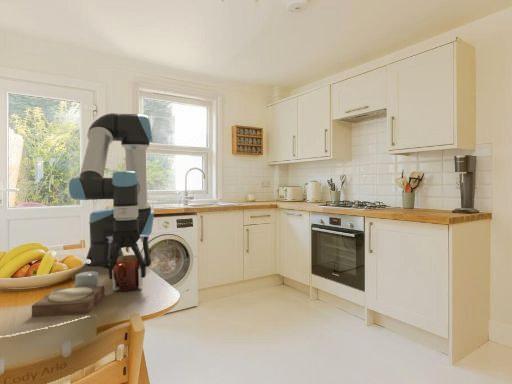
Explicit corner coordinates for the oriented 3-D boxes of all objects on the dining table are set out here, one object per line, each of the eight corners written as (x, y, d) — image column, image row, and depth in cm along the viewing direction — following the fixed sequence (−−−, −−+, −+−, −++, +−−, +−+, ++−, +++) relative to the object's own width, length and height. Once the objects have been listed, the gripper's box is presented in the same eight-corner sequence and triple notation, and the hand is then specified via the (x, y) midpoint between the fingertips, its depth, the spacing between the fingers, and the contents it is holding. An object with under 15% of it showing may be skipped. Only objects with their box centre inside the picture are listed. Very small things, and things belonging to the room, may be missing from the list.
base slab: (56, 297, 101) (56, 286, 100) (104, 295, 102) (104, 284, 102) (32, 316, 87) (31, 304, 87) (87, 313, 89) (87, 301, 88)
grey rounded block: (80, 283, 115) (80, 271, 115) (101, 282, 116) (101, 271, 116) (72, 289, 108) (71, 277, 108) (94, 288, 109) (94, 276, 109)
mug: (125, 283, 114) (124, 254, 113) (148, 285, 112) (147, 255, 112) (102, 295, 102) (101, 263, 102) (127, 297, 100) (127, 264, 100)
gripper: (88, 221, 101) (91, 293, 102) (156, 219, 104) (158, 290, 105) (97, 218, 109) (99, 286, 109) (160, 216, 111) (161, 282, 112)
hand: (128, 287), depth 107 cm, fingers closed on mug, 7 cm apart
